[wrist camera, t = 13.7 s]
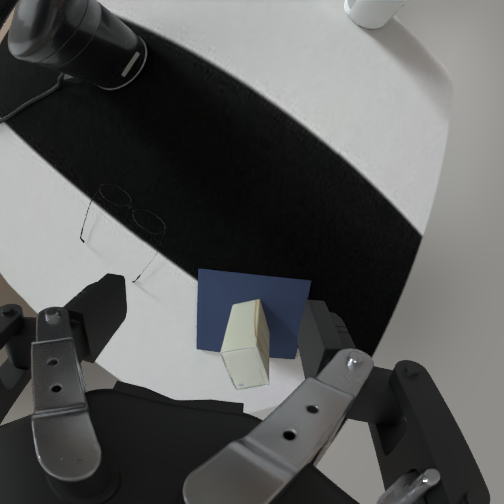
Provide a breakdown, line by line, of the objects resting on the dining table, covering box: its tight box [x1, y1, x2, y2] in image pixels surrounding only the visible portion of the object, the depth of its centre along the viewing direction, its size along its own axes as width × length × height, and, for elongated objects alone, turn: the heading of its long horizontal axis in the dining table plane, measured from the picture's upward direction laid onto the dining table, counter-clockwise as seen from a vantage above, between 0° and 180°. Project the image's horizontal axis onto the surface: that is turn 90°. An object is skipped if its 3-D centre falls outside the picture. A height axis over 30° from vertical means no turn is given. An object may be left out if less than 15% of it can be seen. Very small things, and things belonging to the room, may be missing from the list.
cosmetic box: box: [220, 299, 269, 390], centre depth 37 cm, size 6×4×12 cm
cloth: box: [197, 268, 311, 359], centre depth 43 cm, size 16×14×1 cm
